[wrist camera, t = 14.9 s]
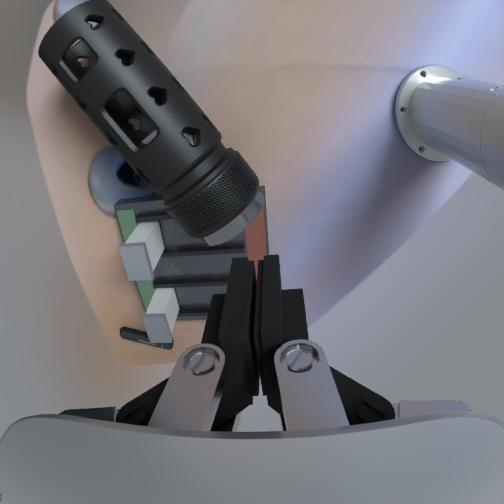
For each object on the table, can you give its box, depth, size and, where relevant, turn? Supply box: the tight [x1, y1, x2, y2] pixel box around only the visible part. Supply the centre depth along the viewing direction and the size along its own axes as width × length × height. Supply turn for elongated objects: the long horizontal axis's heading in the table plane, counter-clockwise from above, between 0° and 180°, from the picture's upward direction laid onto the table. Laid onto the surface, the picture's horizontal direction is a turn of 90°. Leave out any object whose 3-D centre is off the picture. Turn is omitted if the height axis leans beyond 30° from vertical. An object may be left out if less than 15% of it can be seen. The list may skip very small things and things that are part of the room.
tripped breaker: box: [141, 288, 179, 343], centre depth 42 cm, size 3×4×7 cm
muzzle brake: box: [38, 0, 264, 246], centre depth 29 cm, size 10×28×10 cm, turn 36°
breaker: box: [118, 220, 165, 281], centre depth 37 cm, size 3×4×7 cm
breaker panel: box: [114, 186, 269, 320], centre depth 43 cm, size 19×19×3 cm
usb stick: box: [120, 327, 173, 350], centre depth 52 cm, size 10×3×2 cm, turn 77°
